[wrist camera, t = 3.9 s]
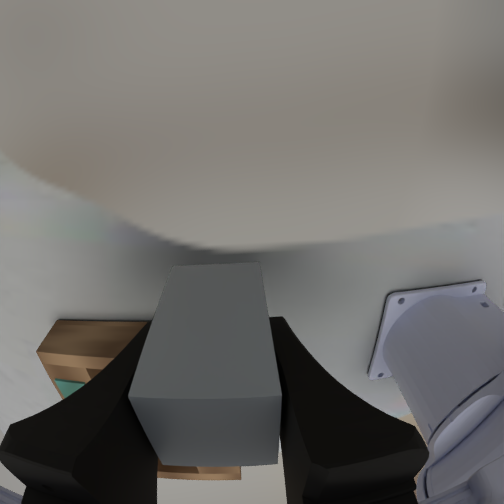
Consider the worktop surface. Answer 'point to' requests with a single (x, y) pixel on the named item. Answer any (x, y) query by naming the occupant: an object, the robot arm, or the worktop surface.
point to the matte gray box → (210, 370)
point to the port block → (95, 360)
